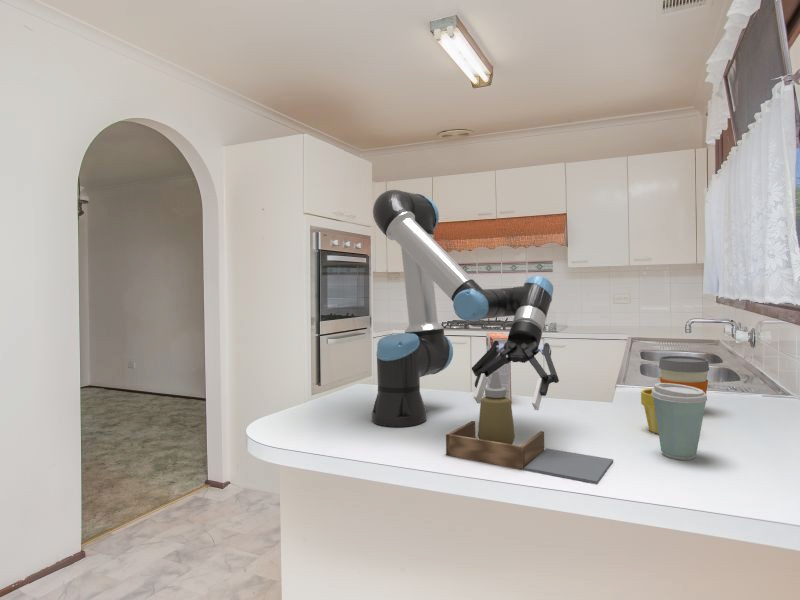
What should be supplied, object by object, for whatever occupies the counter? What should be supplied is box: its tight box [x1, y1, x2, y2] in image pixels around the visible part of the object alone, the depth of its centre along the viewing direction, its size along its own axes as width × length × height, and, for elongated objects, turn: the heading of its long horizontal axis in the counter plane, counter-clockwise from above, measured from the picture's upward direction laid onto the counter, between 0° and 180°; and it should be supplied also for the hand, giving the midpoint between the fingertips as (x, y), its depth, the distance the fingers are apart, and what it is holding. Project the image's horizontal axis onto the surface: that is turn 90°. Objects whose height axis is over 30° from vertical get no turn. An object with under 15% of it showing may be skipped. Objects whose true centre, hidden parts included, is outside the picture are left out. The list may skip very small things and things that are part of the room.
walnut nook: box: [445, 420, 545, 471], centre depth 115 cm, size 18×13×4 cm
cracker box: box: [485, 332, 513, 405], centre depth 166 cm, size 14×6×21 cm, turn 178°
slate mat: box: [523, 448, 614, 485], centre depth 106 cm, size 14×14×1 cm
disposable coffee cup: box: [651, 382, 708, 461], centre depth 111 cm, size 11×11×15 cm
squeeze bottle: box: [477, 372, 516, 445], centre depth 115 cm, size 8×8×18 cm
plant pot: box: [640, 388, 659, 435], centre depth 129 cm, size 10×10×10 cm
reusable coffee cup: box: [658, 355, 710, 395], centre depth 147 cm, size 13×13×15 cm
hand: (504, 403), depth 115 cm, fingers open, 13 cm apart
